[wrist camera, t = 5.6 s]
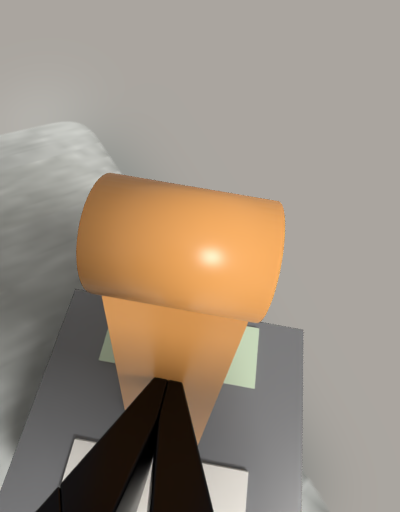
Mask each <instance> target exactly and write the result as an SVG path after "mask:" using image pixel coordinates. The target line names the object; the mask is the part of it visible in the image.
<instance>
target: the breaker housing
mask: <svg viewBox="0 0 400 512" xmlns="http://www.w3.org/2000/svg"><path fill="white" fill-rule="evenodd" d="M124 411H125V409H124V404H123V399H122V394H121V389H120V384H119V379H118V374H117V369H116V364H115V359H114V354H113V349H112V344H111V339H110V334H109V329H108V324H107V319H106V315H105V310H104V305H103V300H102V295H96V294H91V293H89V292H87V291H84V290H79V289H75V292H74V294H73V297H72V300H71V302H70V305H69V308H68V311H67V313H66V316H65V319H64V321H63V324H62V327H61V329H60V332H59V335H58V337H57V340H56V343H55V346H54V348H53V351H52V354H51V356H50V359H49V362H48V364H47V367H46V370H45V372H44V375H43V378H42V380H41V383H40V386H39V389H38V391H37V394H36V397H35V399H34V402H33V405H32V407H31V410H30V413H29V415H28V418H27V421H26V423H25V426H24V429H23V432H22V434H21V437H20V440H19V442H18V445H17V448H16V450H15V453H14V456H13V458H12V461H11V464H10V467H9V469H8V472H7V475H6V477H5V480H4V483H3V485H2V488H1V491H0V512H35V511H36V510H37V509H38V508H39V507H40V506H41V505H42V504H43V503H44V502H45V500H46V499H47V498H48V497H49V496H50V495H51V494H52V492H53V491H54V490H55V489H56V488H57V487H60V484H61V482H62V481H63V480H64V479H65V478H66V477H67V476H68V475H69V473H70V472H71V471H72V470H73V469H74V468H75V467H76V465H77V464H78V463H79V462H80V461H81V460H82V459H83V457H84V456H85V455H86V454H87V453H88V452H89V451H90V449H91V448H92V447H93V446H94V445H95V444H96V443H97V442H98V440H99V439H100V438H101V437H102V436H103V435H104V434H105V432H106V431H107V430H108V429H109V428H110V427H111V426H112V424H113V423H114V422H115V421H116V420H117V419H118V418H119V417H120V415H121V414H122V413H123V412H124ZM302 416H303V330H302V329H296V328H291V327H286V326H280V325H274V324H269V323H263V322H259V323H253V322H248V324H247V326H246V329H245V331H244V334H243V336H242V339H241V341H240V344H239V346H238V348H237V351H236V353H235V356H234V358H233V361H232V363H231V366H230V368H229V370H228V373H227V375H226V378H225V380H224V383H223V385H222V387H221V390H220V392H219V395H218V397H217V400H216V402H215V405H214V407H213V409H212V412H211V414H210V417H209V419H208V422H207V424H206V426H205V429H204V431H203V434H202V436H201V439H200V441H199V444H198V449H199V453H200V457H201V461H202V465H203V469H204V473H205V478H206V482H207V486H208V490H209V494H210V498H211V502H212V506H213V511H214V512H302V420H303V419H302V418H303V417H302ZM152 462H153V460H152ZM151 470H152V464H151V468H150V471H149V475H148V478H147V481H146V484H145V487H144V490H143V493H142V496H141V500H140V503H139V506H138V509H137V512H147V505H148V496H149V487H150V477H151Z"/></svg>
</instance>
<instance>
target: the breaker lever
mask: <svg viewBox="0 0 400 512" xmlns="http://www.w3.org/2000/svg"><path fill="white" fill-rule="evenodd" d="M284 238H285V216H284V210H283V206H282V204H281V203H280V202H279V201H274V200H268V199H262V198H256V197H250V196H244V195H239V194H233V193H227V192H221V191H215V190H209V189H203V188H197V187H191V186H185V185H180V184H174V183H167V182H162V181H156V180H150V179H144V178H138V177H132V176H126V175H121V174H115V173H107V174H105V175H103V176H102V177H100V178H99V179H98V181H97V182H96V183H95V184H94V186H93V188H92V189H91V191H90V193H89V195H88V197H87V200H86V202H85V205H84V208H83V212H82V215H81V219H80V223H79V229H78V236H77V248H76V259H77V270H78V275H79V278H80V281H81V284H82V286H83V288H84V289H85V290H86V291H87V292H89V293H91V294H96V295H102V300H103V305H104V310H105V315H106V319H107V324H108V329H109V334H110V339H111V344H112V349H113V354H114V359H115V364H116V369H117V374H118V379H119V384H120V389H121V394H122V399H123V404H124V409H125V410H126V409H127V407H128V406H129V405H130V404H131V403H132V402H133V401H134V399H135V398H136V397H137V396H138V395H139V394H140V393H141V392H142V390H143V389H144V388H145V387H146V386H147V385H148V384H149V382H150V381H151V380H152V379H153V378H154V377H157V378H162V379H166V380H168V381H169V380H173V381H178V382H182V383H183V387H184V391H185V395H186V399H187V403H188V407H189V412H190V416H191V420H192V424H193V428H194V432H195V436H196V440H197V445H198V444H199V441H200V439H201V436H202V434H203V431H204V429H205V426H206V424H207V422H208V419H209V417H210V414H211V412H212V409H213V407H214V405H215V402H216V400H217V397H218V395H219V392H220V390H221V387H222V385H223V383H224V380H225V378H226V375H227V373H228V370H229V368H230V366H231V363H232V361H233V358H234V356H235V353H236V351H237V348H238V346H239V344H240V341H241V339H242V336H243V334H244V331H245V329H246V326H247V324H248V322H253V323H259V322H261V321H262V319H263V318H264V317H265V315H266V313H267V311H268V309H269V306H270V304H271V301H272V299H273V296H274V292H275V289H276V286H277V282H278V278H279V273H280V268H281V263H282V256H283V249H284Z"/></svg>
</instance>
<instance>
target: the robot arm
mask: <svg viewBox="0 0 400 512" xmlns="http://www.w3.org/2000/svg"><path fill="white" fill-rule="evenodd" d="M152 460H153V462H152ZM151 464H152V470H151V477H150V487H149V496H148V505H147V512H214V511H213V506H212V502H211V498H210V494H209V490H208V486H207V482H206V478H205V473H204V469H203V465H202V461H201V457H200V453H199V449H198V445H197V440H196V436H195V432H194V428H193V424H192V420H191V416H190V412H189V407H188V403H187V399H186V395H185V391H184V387H183V383H182V382H178V381H173V380H169V381H168V380H166V379H162V378H157V377H154V378H153V379H152V380H151V381H150V382H149V384H148V385H147V386H146V387H145V388H144V389H143V390H142V392H141V393H140V394H139V395H138V396H137V397H136V398H135V399H134V401H133V402H132V403H131V404H130V405H129V406H128V407H127V409H126V410H125V411H124V412H123V413H122V414H121V415H120V417H119V418H118V419H117V420H116V421H115V422H114V423H113V424H112V426H111V427H110V428H109V429H108V430H107V431H106V432H105V434H104V435H103V436H102V437H101V438H100V439H99V440H98V442H97V443H96V444H95V445H94V446H93V447H92V448H91V449H90V451H89V452H88V453H87V454H86V455H85V456H84V457H83V459H82V460H81V461H80V462H79V463H78V464H77V465H76V467H75V468H74V469H73V470H72V471H71V472H70V473H69V475H68V476H67V477H66V478H65V479H64V480H63V481H62V482H61V484H60V487H57V488H56V489H55V490H54V491H53V492H52V494H51V495H50V496H49V497H48V498H47V499H46V500H45V502H44V503H43V504H42V505H41V506H40V507H39V508H38V509H37V510H36V511H35V512H137V509H138V506H139V503H140V500H141V496H142V493H143V490H144V487H145V484H146V481H147V478H148V475H149V471H150V468H151Z"/></svg>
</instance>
